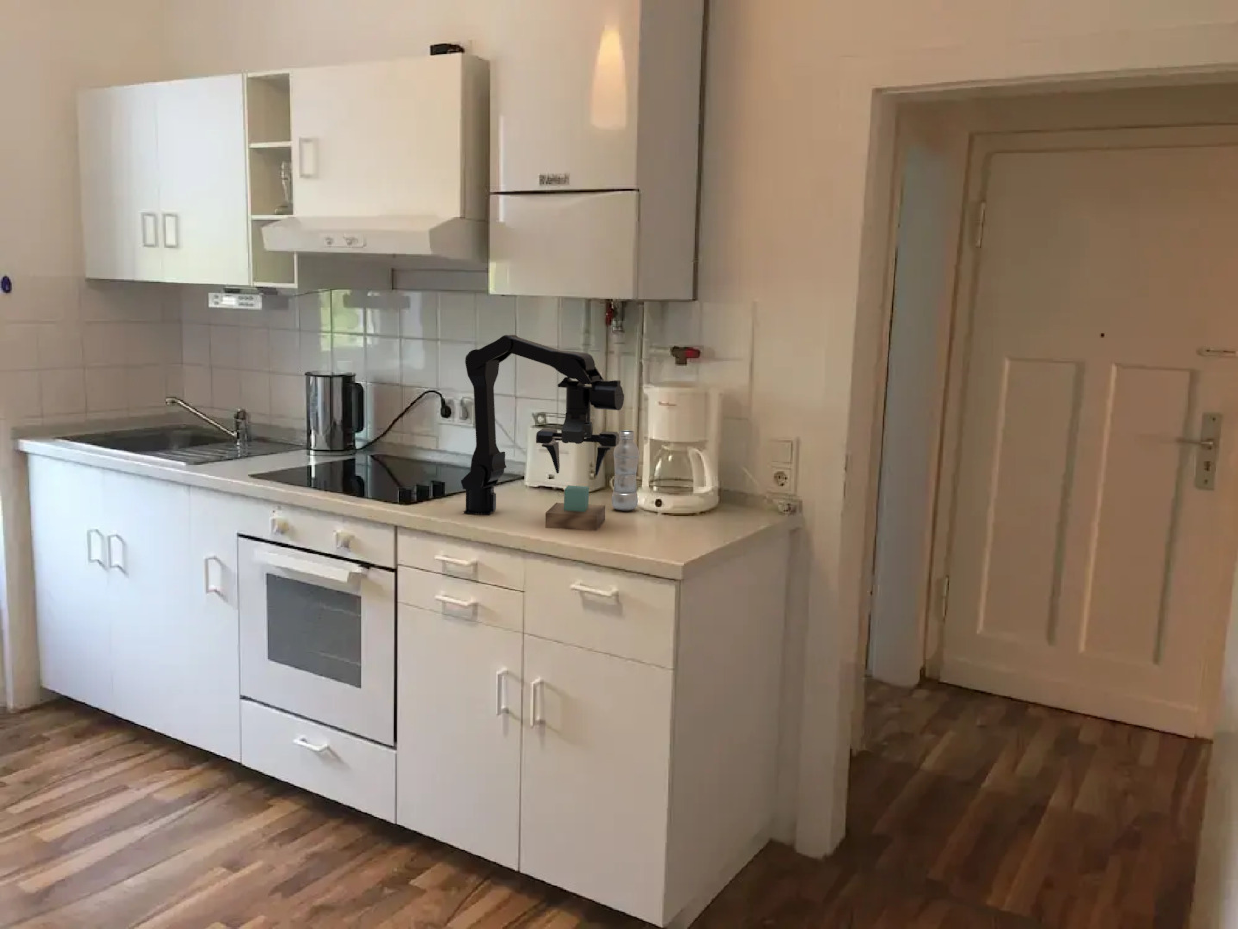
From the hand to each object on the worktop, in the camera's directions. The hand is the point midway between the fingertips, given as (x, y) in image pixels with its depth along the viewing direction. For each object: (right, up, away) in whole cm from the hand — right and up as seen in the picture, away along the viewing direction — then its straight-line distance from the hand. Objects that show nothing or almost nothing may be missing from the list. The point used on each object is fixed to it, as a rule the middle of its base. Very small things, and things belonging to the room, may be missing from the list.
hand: (577, 474), depth 244 cm
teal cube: (0, -8, +1) cm, 8 cm away
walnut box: (0, -12, +2) cm, 12 cm away
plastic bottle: (+11, -9, +18) cm, 23 cm away
